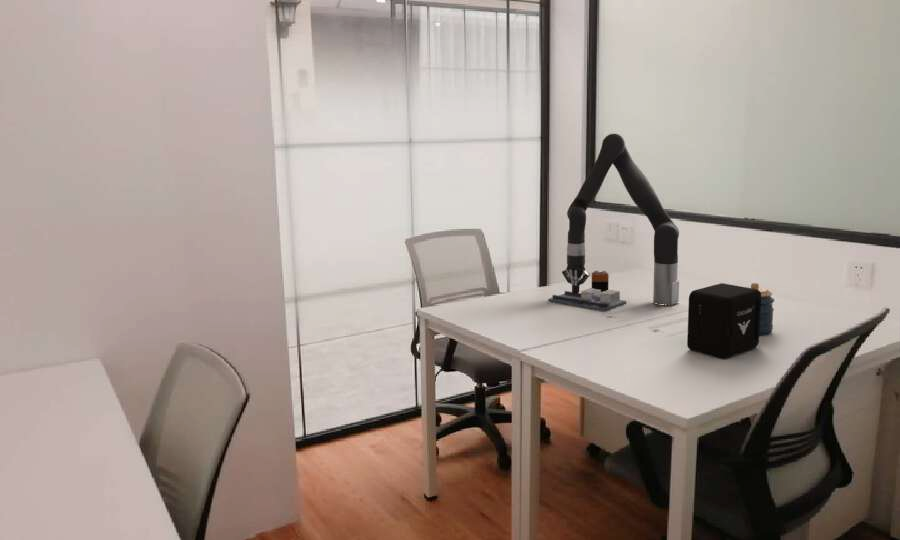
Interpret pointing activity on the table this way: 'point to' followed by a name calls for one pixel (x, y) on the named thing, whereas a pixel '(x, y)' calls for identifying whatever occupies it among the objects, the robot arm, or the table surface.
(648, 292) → the table surface
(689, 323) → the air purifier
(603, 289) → the battery
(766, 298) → the canister
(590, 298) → the block
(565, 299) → the dark grey piece
